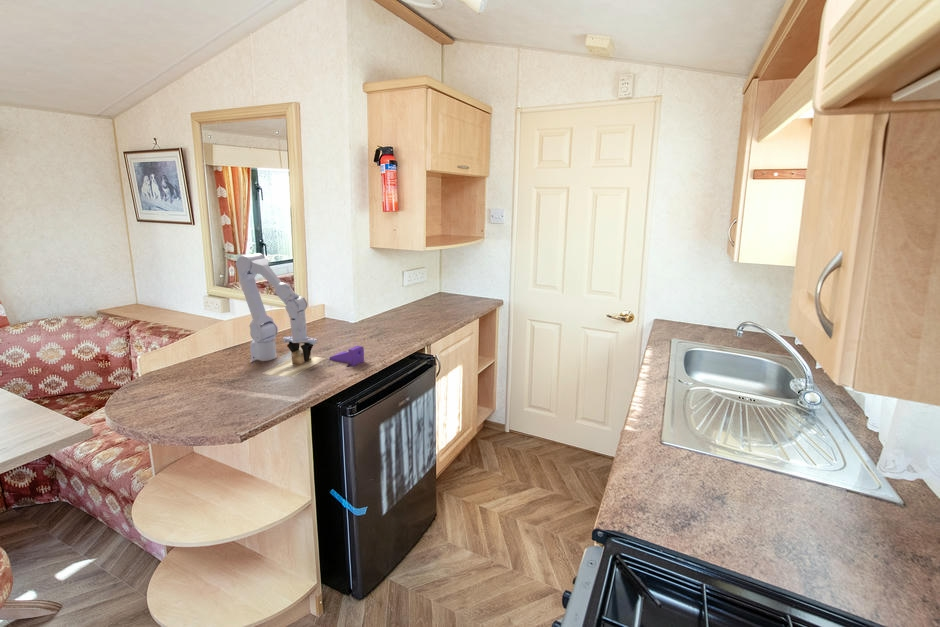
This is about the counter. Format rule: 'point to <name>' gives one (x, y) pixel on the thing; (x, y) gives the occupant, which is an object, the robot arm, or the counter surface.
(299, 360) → the block
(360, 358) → the bracket
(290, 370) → the board
